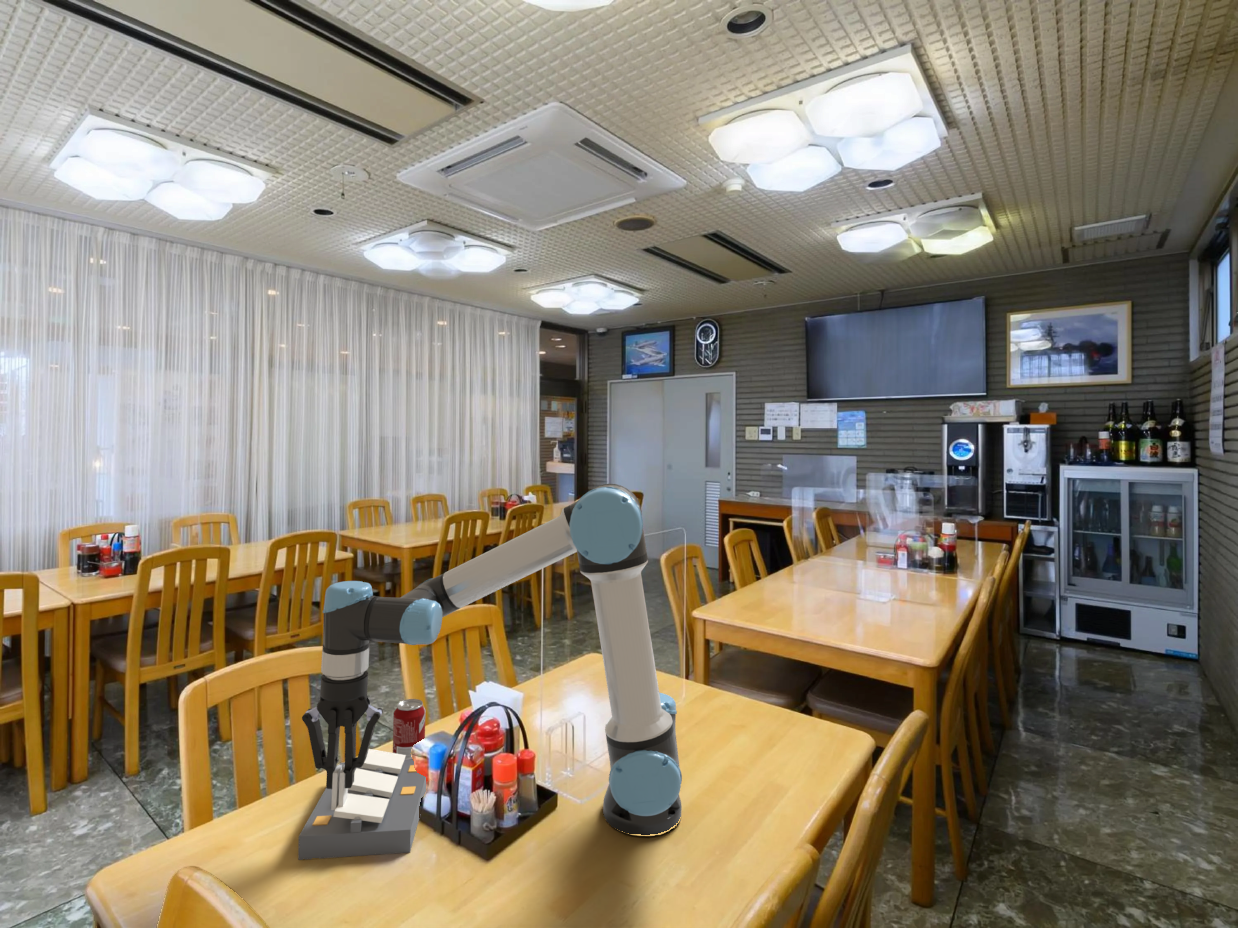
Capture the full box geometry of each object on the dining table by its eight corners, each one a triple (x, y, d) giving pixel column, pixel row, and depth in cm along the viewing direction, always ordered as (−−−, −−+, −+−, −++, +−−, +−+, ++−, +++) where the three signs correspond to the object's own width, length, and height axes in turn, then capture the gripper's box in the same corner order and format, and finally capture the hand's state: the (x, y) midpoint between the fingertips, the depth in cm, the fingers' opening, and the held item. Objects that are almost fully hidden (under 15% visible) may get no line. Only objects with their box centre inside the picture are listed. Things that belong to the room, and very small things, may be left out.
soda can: (414, 766, 134) (415, 711, 134) (386, 762, 135) (387, 708, 135) (430, 751, 141) (431, 699, 140) (403, 747, 142) (404, 696, 142)
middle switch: (395, 783, 120) (398, 776, 120) (389, 801, 114) (392, 792, 114) (354, 775, 119) (356, 767, 119) (345, 792, 113) (348, 784, 113)
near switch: (387, 807, 112) (389, 798, 112) (380, 826, 106) (382, 817, 106) (342, 800, 111) (344, 792, 111) (332, 820, 105) (334, 811, 105)
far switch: (404, 762, 128) (406, 754, 128) (398, 777, 122) (400, 769, 122) (364, 755, 127) (366, 747, 127) (357, 770, 121) (359, 762, 121)
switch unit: (430, 776, 130) (431, 750, 130) (410, 852, 106) (410, 819, 106) (340, 781, 127) (340, 754, 127) (298, 859, 104) (298, 826, 103)
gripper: (390, 664, 112) (384, 791, 113) (311, 664, 110) (305, 794, 111) (380, 680, 105) (374, 816, 105) (295, 680, 103) (290, 819, 103)
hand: (339, 804), depth 108 cm, fingers closed
